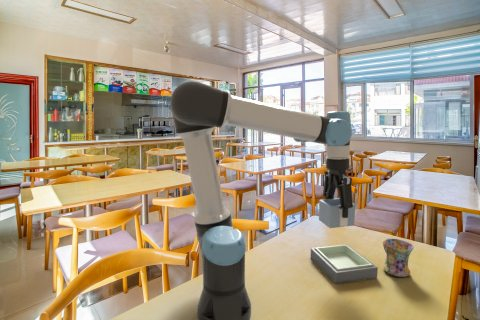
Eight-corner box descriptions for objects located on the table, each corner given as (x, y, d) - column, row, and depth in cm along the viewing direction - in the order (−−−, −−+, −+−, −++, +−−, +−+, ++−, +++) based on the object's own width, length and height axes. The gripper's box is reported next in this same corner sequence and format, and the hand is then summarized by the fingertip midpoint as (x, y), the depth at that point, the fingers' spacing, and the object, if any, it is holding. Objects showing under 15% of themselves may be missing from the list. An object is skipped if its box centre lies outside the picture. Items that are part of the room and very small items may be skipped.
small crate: (330, 228, 97) (330, 206, 96) (318, 219, 105) (319, 199, 104) (354, 225, 99) (355, 204, 98) (341, 217, 107) (342, 197, 106)
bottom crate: (335, 284, 96) (336, 272, 96) (310, 257, 114) (310, 248, 114) (377, 278, 100) (377, 267, 99) (346, 253, 117) (346, 244, 117)
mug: (417, 277, 100) (420, 248, 98) (393, 280, 98) (396, 251, 96) (393, 261, 111) (395, 234, 110) (371, 263, 110) (373, 236, 108)
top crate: (337, 279, 98) (337, 269, 97) (314, 256, 113) (315, 247, 113) (371, 274, 100) (372, 264, 100) (345, 253, 116) (345, 244, 115)
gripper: (366, 161, 89) (364, 231, 93) (332, 153, 109) (331, 211, 113) (344, 162, 88) (342, 234, 91) (313, 154, 108) (313, 213, 111)
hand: (336, 221), depth 102 cm, fingers closed on small crate, 8 cm apart
